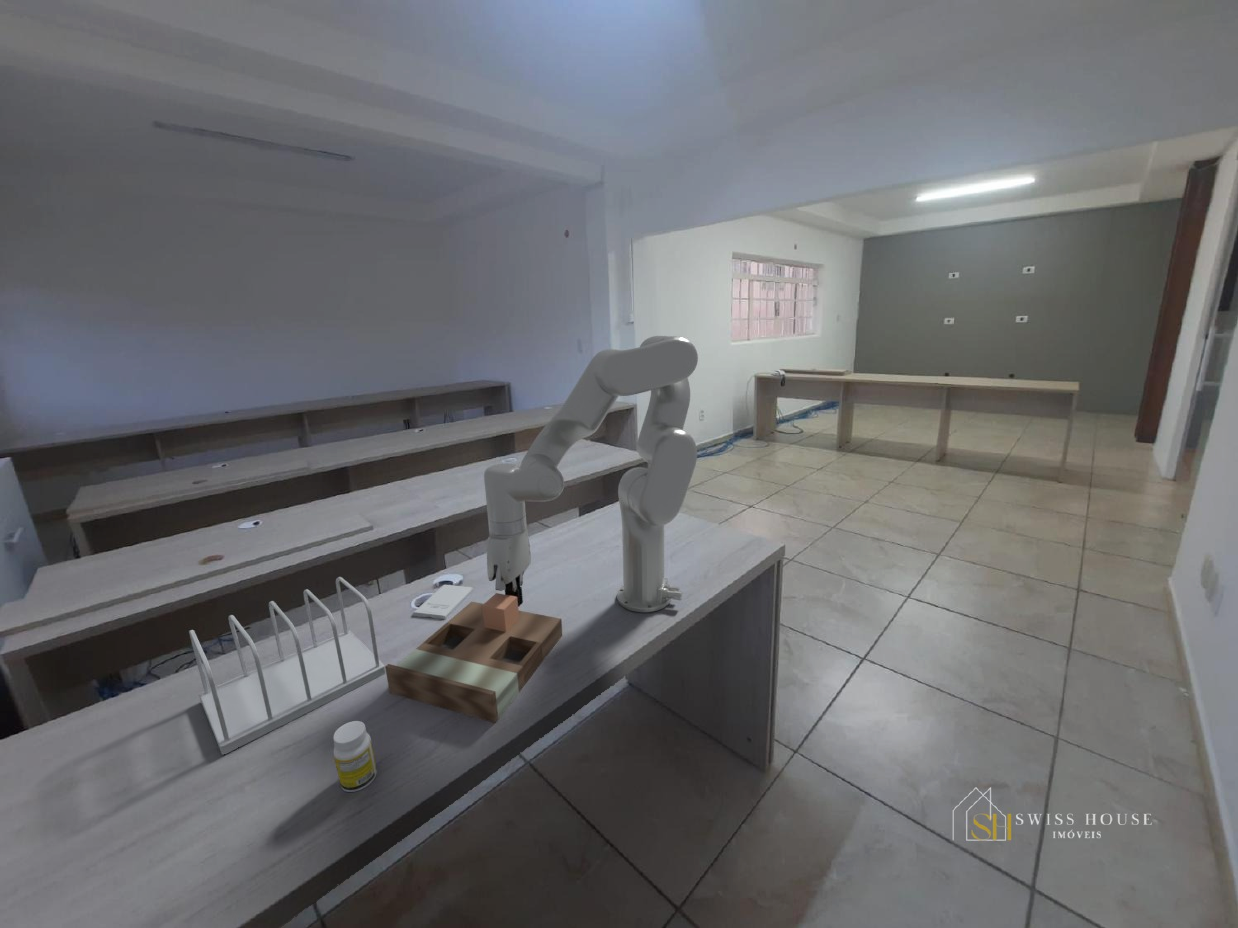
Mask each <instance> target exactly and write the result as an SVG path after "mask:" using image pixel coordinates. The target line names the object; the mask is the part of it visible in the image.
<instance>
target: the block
mask: <svg viewBox="0 0 1238 928" xmlns="http://www.w3.org/2000/svg"><path fill="white" fill-rule="evenodd" d="M482 604H483V605H482V608H483V617H484V626H485V628H490V629H495V630H499V631H504V632H506V631H507V630H508V629H509V628H510V627H511V626H512V625H513V624H514V623H515V622H516V621H517V620H518V619H519V611H520V610H519V607H518V600H517V597H515V596H510V595H505V593H504V594H503V593H498V592H496V593H494V595H492V596H491V597H490V598H489V599H488V600H486V602H484V603H482Z"/></svg>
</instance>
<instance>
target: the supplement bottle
mask: <svg viewBox="0 0 1238 928" xmlns="http://www.w3.org/2000/svg"><path fill="white" fill-rule="evenodd" d="M332 739H333V746H334V748H333V758H334V761H335V762H334V763H335V765H336V766H335V767H336V772H337V774H338V778H339V779H338V780H339V782H340V787H341V789H342V790H343V791H344V792H347V793H348V792H349V793H354V792H355V793H356V792H359V791H361V790H364V789H366V787H368V786H369V785H370V784H372V782H373V781H374V780H375V778H376V776H377V774H378V767H377V762H376V758H375V757H376V756H375V753H374V749H373V743H372V737H371V735H370V734H369V732H367V729H366V724H365V723H364V722H362V721H361V720H360V721H359V720H354V721H349V722H346V723H345V724H343V725H341V726H340V727H338V728H337V729H336V730H335V732H334V733H333V738H332Z"/></svg>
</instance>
